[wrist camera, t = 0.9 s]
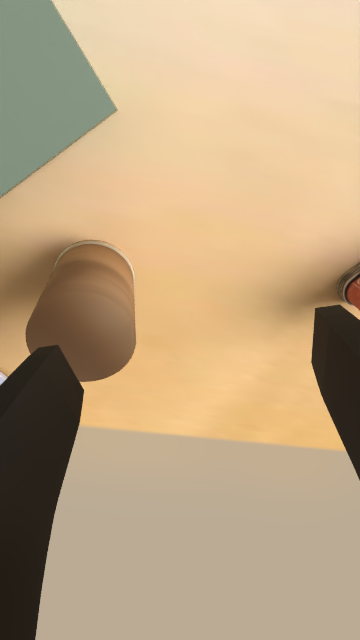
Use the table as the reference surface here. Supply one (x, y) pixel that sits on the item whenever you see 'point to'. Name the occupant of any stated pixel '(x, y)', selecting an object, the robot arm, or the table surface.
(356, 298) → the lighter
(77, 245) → the peg
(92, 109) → the board
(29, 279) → the table surface
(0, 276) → the table surface
